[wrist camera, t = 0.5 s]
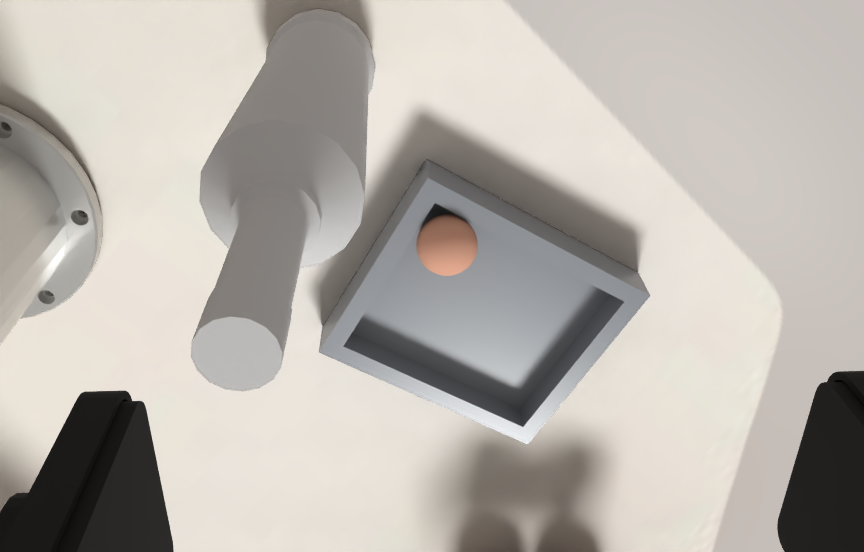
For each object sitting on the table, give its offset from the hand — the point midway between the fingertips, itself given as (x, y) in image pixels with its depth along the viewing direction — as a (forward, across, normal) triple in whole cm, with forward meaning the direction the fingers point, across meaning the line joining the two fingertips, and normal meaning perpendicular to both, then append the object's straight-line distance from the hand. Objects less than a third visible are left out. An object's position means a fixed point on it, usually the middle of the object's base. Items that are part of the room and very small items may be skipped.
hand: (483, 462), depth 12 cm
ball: (+31, -2, +12) cm, 33 cm away
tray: (+32, -4, +16) cm, 36 cm away
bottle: (+32, +4, +2) cm, 32 cm away
